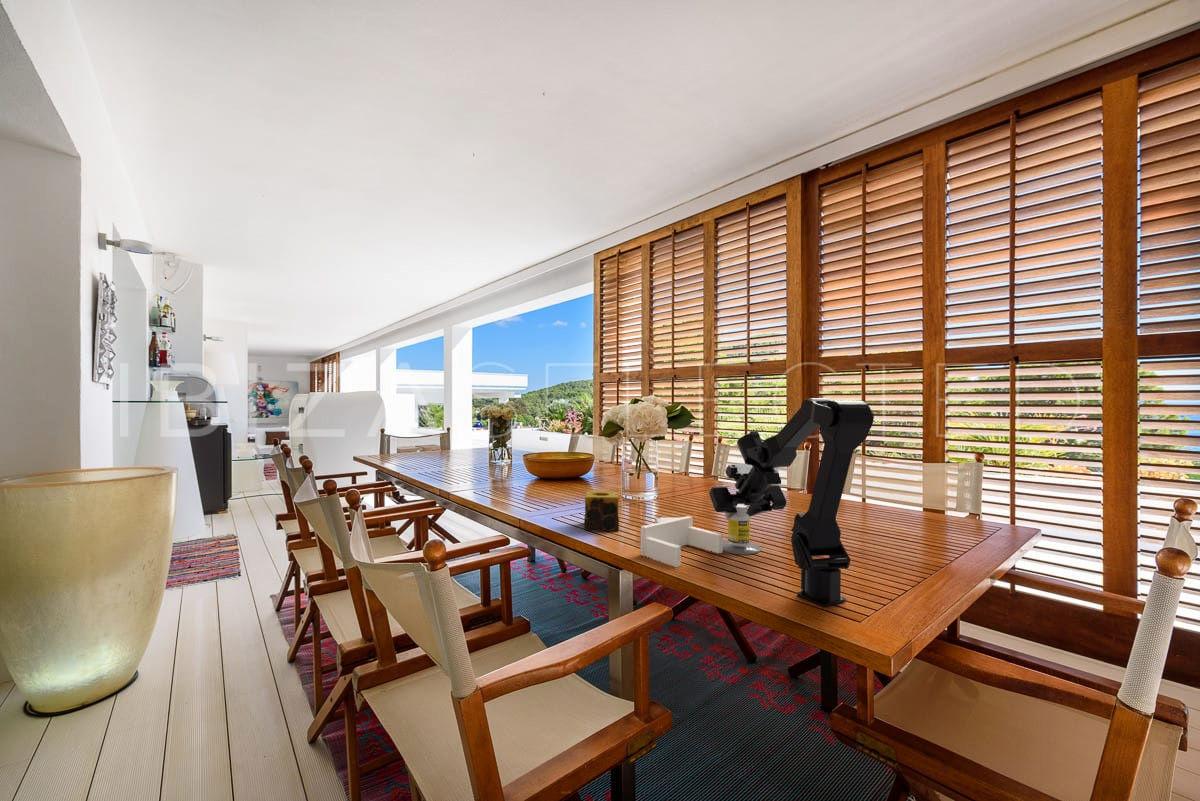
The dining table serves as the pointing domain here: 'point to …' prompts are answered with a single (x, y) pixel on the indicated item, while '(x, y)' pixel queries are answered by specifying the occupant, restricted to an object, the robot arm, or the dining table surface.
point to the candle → (601, 511)
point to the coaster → (741, 548)
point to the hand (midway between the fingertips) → (736, 516)
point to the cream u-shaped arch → (676, 540)
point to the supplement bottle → (739, 527)
